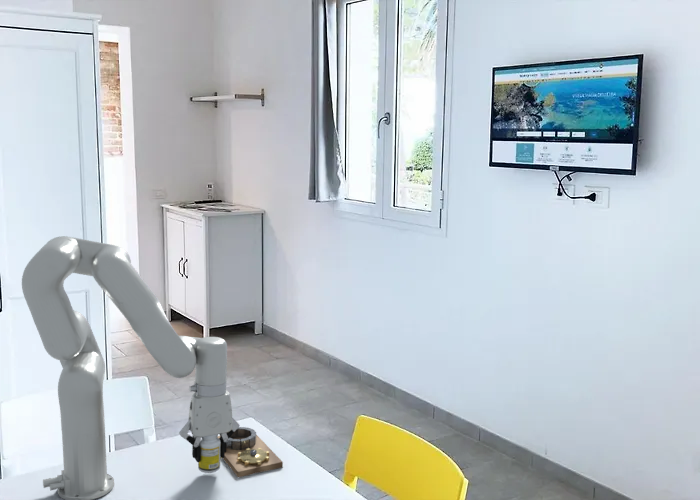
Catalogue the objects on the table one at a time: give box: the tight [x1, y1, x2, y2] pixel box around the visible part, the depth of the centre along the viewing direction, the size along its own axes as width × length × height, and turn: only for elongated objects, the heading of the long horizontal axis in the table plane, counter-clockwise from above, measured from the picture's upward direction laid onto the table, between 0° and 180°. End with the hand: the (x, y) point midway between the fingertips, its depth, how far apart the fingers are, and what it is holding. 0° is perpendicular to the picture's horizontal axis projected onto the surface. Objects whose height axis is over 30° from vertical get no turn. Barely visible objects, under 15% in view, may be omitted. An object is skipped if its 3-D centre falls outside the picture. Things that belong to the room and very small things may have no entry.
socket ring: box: [226, 426, 257, 450], centre depth 191 cm, size 9×9×2 cm
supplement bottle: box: [197, 434, 221, 474], centre depth 175 cm, size 5×5×10 cm
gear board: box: [217, 434, 284, 478], centre depth 188 cm, size 12×22×2 cm, turn 29°
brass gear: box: [237, 448, 269, 466], centre depth 182 cm, size 8×8×2 cm
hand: (209, 457), depth 176 cm, fingers closed on supplement bottle, 5 cm apart
